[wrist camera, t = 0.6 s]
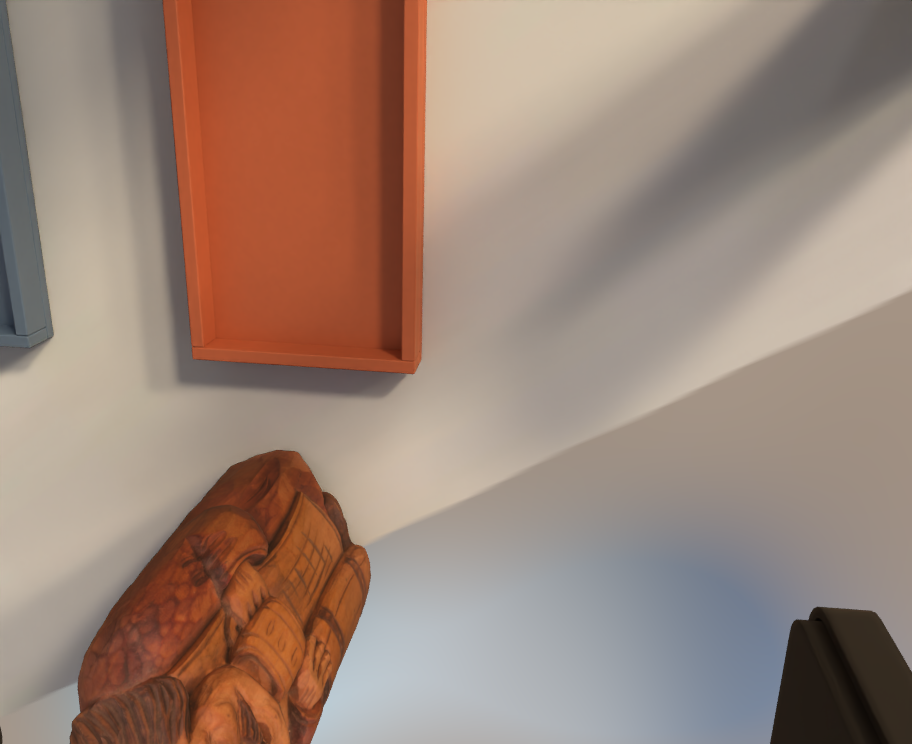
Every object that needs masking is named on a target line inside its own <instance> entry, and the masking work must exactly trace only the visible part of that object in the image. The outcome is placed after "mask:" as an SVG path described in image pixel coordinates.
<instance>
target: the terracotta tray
mask: <svg viewBox="0 0 912 744" xmlns="http://www.w3.org/2000/svg"><path fill="white" fill-rule="evenodd" d="M163 12H164V24H165V36H166V48H167V59H168V71H169V83H170V95H171V107H172V119H173V131H174V142H175V154H176V166H177V178H178V190H179V202H180V214H181V225H182V237H183V249H184V261H185V273H186V285H187V297H188V308H189V320H190V332H191V344H192V346H193V347H192V357H193V359H197V360H212V361H227V362H242V363H257V364H272V365H287V366H302V367H317V368H332V369H347V370H362V371H377V372H392V373H407V374H414V373H415V371H416V369H417V367H418V365H419V363H420V361H421V353H422V287H423V221H424V155H425V89H426V24H427V0H163Z"/></svg>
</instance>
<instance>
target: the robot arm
mask: <svg viewBox="0 0 912 744" xmlns="http://www.w3.org/2000/svg"><path fill="white" fill-rule="evenodd" d="M0 744H2V733H1V728H0ZM770 744H912V672H911V670H910V669H909V667H908V665H907V663H906V662H905V660H904V658H903V656H902V655H901V653H900V651H899V650H898V648H897V646H896V644H895V643H894V641H893V639H892V638H891V636H890V634H889V632H888V631H887V629H886V627H885V626H884V624H883V622H882V621H881V619H880V618H879V616H878V615H877V614H876V613H875V612H872V611H866V610H852V609H839V608H827V607H816V608H814V609H813V610H812V612H811V614H810V616H809V620H795V621H794V622H793V624H792V626H791V630H790V635H789V640H788V646H787V651H786V657H785V663H784V669H783V674H782V679H781V685H780V691H779V696H778V702H777V708H776V713H775V719H774V725H773V730H772V736H771V742H770Z"/></svg>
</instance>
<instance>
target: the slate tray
mask: <svg viewBox="0 0 912 744" xmlns="http://www.w3.org/2000/svg"><path fill="white" fill-rule="evenodd" d="M52 336H53V328H52V321H51V314H50V307H49V300H48V293H47V286H46V279H45V272H44V265H43V258H42V251H41V244H40V237H39V230H38V223H37V216H36V209H35V202H34V195H33V188H32V181H31V174H30V167H29V160H28V153H27V146H26V139H25V132H24V125H23V118H22V111H21V104H20V97H19V91H18V84H17V77H16V70H15V63H14V56H13V49H12V42H11V35H10V28H9V21H8V14H7V7H6V0H0V346H3V347H18V348H31V347H33V346H35V345H37V344H39V343H41V342H42V341H44V340H46V339H48V338H50V337H52Z"/></svg>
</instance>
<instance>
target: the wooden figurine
mask: <svg viewBox="0 0 912 744" xmlns="http://www.w3.org/2000/svg"><path fill="white" fill-rule="evenodd" d="M370 578H371V573H370V562H369V558H368V555H367V552H366V550H365V548H363V547H362V546H359V545H354V544H353V543H352V542H351V540H350V538H349V534H348V529H347V523H346V521H345V519H344V517H343V513H342V510H341V507H340V505H339V503H338V501H337V500H336V499H335V498H334V497H333V496H332V495H331V494H329V493H327V492H322V490H321V488H320V486H319V485H318V483H317V481H316V479H315V477H314V475H313V474H312V472H311V470H310V468H309V466H308V465H307V464H306V463H305V462H304V460H303V459H302V457H301V455H300V454H299V453H297V452H294V451H282V450H276V451H272V452H268V453H265V454H260V455H256V456H254V457H252V458H250V459H248V460H246V461H243V462H240V463H237V464H235V465H233V466H231V467H230V468H229V469H228V470H227V472H226V473H225V474H224V475H223V476H222V477H221V478H220V479H219V480H218V482H217V483H216V484H215V485H214V487H213V488H212V489H211V490H210V491H209V492H208V493H207V494H206V496H205V497H204V498H203V499H202V501H201V502H200V503H199V504H198V505H197V506H196V507H195V508H194V509H193V510H192V511H191V512H190V513H189V514H188V515H187V516H186V518H185V519H184V520H183V522H182V523H181V524H180V526H179V527H178V528H177V529H176V531H175V532H174V533H173V534H172V535H171V536H170V538H169V539H168V540H167V541H166V542H165V544H164V545H163V546H162V548H161V549H160V550H159V552H158V553H157V554H156V555H155V556H154V557H153V558H152V559H151V561H150V562H149V563H148V564H147V565H146V567H145V568H144V569H143V570H142V572H141V573H140V574H139V576H138V577H137V578H136V580H135V581H134V583H133V584H132V585H130V586H129V587H128V589H127V590H126V591H125V592H124V594H123V595H122V596H121V598H120V599H119V600H118V602H117V603H116V604H115V605H114V607H113V608H112V610H111V611H110V613H109V614H108V616H107V618H106V620H105V621H104V623H103V625H102V626H101V628H100V629H99V631H98V632H97V634H96V636H95V637H94V639H93V641H92V643H91V644H90V646H89V648H88V650H87V652H86V653H85V656H84V659H83V662H82V666H81V670H80V673H79V677H78V694H79V704H80V712H81V713H80V714H79V715H78V716H77V717H76V718H75V719H74V720H73V721H72V732H71V735H70V744H310V743H311V741H312V738H313V736H314V733H315V731H316V728H317V725H318V722H319V720H320V717H321V715H322V711H323V707H324V704H325V703H326V701H327V698H328V696H329V693H330V690H331V688H332V685H333V682H334V679H335V677H336V674H337V671H338V669H339V666H340V664H341V662H342V659H343V657H344V654H345V652H346V650H347V648H348V645H349V643H350V641H351V638H352V636H353V633H354V631H355V629H356V627H357V624H358V621H359V618H360V616H361V614H362V610H363V607H364V605H365V601H366V598H367V594H368V589H369V583H370Z"/></svg>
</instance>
